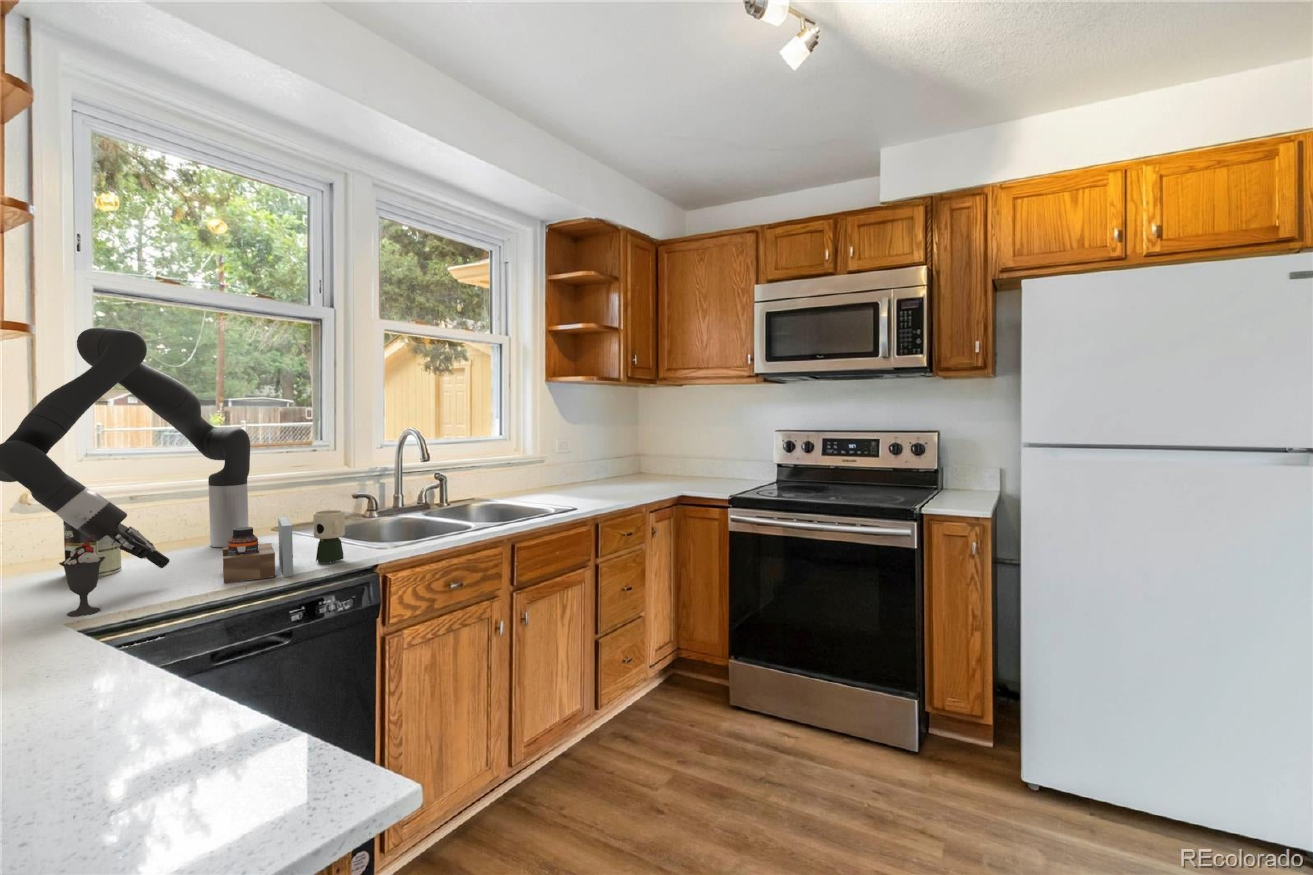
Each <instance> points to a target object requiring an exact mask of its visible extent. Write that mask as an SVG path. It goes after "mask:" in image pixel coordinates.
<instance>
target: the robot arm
mask: <svg viewBox="0 0 1313 875" xmlns="http://www.w3.org/2000/svg"><path fill="white" fill-rule="evenodd" d="M76 350H77V352H78V353H79V355H80V357H81V358H82V359H83V360H84V362H86V363H87V364H88V366H91V367H90V368H88V369H87V370H86V371H85V372H83V373H81V374H80V375H79V376H77V377H76V378H74V379H72V380H71V381H69V382H67V383H65V384H63V385H61V386H59V387H58V388H56V389H54V390H52V391H51V392H50V393H48V394H47V395H46V396H44V397H43V398H42V399H40V401H39V402H38V403H37V404H36V405H35V406H34V407H33V409H31V410H30V411H29V412H28V413H27V414H26V416H25V417H24V418H23V419H22V420H21V422H20V423H19V425H18V427H17V429H16V430H15V431H13V433H12V434H11V435H9V437H8V438H7V439H6V440H5V441H4V442H1V443H0V482H3V483H15V482H18V483H19V484H20V485H22V486H23V487H24V488H25V489H26V490H27V489H28V491H29V492H30V494H31V496H32V498H33V499H34V500H35V501H36V502H37V503H38V504H40V505H42V506H43V507H45V508H47V509H48V510H50V512H52V513H54V514H56V515H57V516H58V517H59V518H60V519H62V521H63V520H64V521H65V522H66V523H68V524H69V525H71V526H73V527H74V528H76V529H77V530H79V531H80V532H82V533H83V534H85V535H86V536H88V537H89V538H90V537H91V535H94V536H95V537H94V538H93V537H91V538H92V540H94V541H99V540H101V539H102V538H103V537H104V536H109V537H110V538H111V539H113V540H114V541H113V544H115V545H116V546H118V547H119V548H120V549H121V551H124V552H126V553H128V554H131V555H132V556H135V557H137V558H138V559H140V560H142V559H144V560H148V561H149V562H150V563H153V565H155V566H157V567H158V568H160V569H164V568H165V567H166V566H168V564H169V563H170V558H169V557H168V556H166V555H164V554H163V553H161V552H160V551H158V550H157V549H156V546H155V545H154V543H152V542H151V541H150V540H149V539H147V537H145V536H144V535H143V534H142V533H141V532H139V530H138V529H136V528H134V527H133V526H129V527H128V526H127V525H124V524H123V523H122V522H123V521H124V520H126V518H127V517H128V513H127V512H125V511H124V510H123V509H121V508H120V507H118V506H116V505H115V504H114V503H113V502H111V501H109V500H108V499H106V498H105V497H104V496H102V495H101V494H99V493H97V492H95V491H93V490H92V489H90V488H88V487H86V485H84V484H83V483H80V481H78V480H76V479H75V478H73V477H72V476H70V475H69V474H67V473H66V472H64V471H63V469H62V468H61V467H60V466H59V465H58V464H57V463H56V462H55V461H54V460H52V458H50V457H49V455H47V454H48V453H49V451H50V450H51V449H52V448H53V447H54V446H55V445H56V444H58V442H60V440H61V439H63V437H64V436H65V435H67V433H68V432H69V431H70V430H71V429H72V428H73V426H74V425H75V424H76V422H78V420H79V419H80V418H81V417H82V416H83V415H84V414H85V413H86V412H87V411H88V410H89V409H90V407H92V406H93V405H94V404H95V403H96V402H97V401H98V400H100V399H101V398H102V397H103V396H104V395H105V394H106V393H108V392H109V391H110V390H111V389H112V388H114V387H115V386H116V385H118V384H119V385H120V386H121V387H123V388H124V389H126V390H127V391H128V392H129V393H130V394H132V395H133V396H134V397H135V398H137V399H138V400H139V401H141V402H142V403H143V405H145V406H147V407H148V408H149V409H150V410H151V411H152V412H153V413H155V414H156V415H157V416H158V417H160V418H161V419H163V420H164V421H166V422H167V423H168V424H169V425H171V427H173V428H174V429H176V430H177V431H178V432H179V433H180V434H181V435H183V436H184V438H186V439H187V441H189V442H190V443H191V444H192V445H193V446H194V447H195V448H196V449H197V451H198V452H199V453H201V454H202V455H203V456H204V457H205V458H207V459H209V460H212V461H224V465H223V468H222V469H221V470H219V471H217V472H214V473H212V474H209V476H208V479H207V480H208V481H207V482H208V505H209V508H208V510H209V514H208V516H209V545H210V547H213V548H226V547H228V541H229V539H230V538H232V537H233V529H234V528H239V527H250V526H249V498H248V497H249V496H248V478H249V474H250V469H251V468H250V467H251V466H250V465H251V464H250V463H251V462H250V461H251V442H250V439H251V438H250V436H249V434H248V432H247V431H246V430H244V429H242V428H241V427H240V428H239V427H238V428H237V427H217V426H213V425H212V424H210V423H209V422H208V421H206V419H204V418H203V417H202V407H201V403H200V399H199V398H198V397H197V396H196V395H195V394H194V393H193V392H192V391H191V390H190V389H188V388H187V387H186V386H185V385H184V384H183V383H181V382H180V381H179V380H177V379H176V378H174V377H171V376H170V375H168V374H166V373H165V372H161V371H159V370H158V369H155V368H154V367H151V366H149V365H147V364H146V363H144V360H145V359H146V356H147V352H148V347H147V343H146V341H145V339H144V337H142V336H141V334H139V333H138V332H135V331H132V330H128V329H124V328H123V329H122V328H114V327H111V328H110V327H92V328H88V329H85V330H83V331H82V332H81V333H80V334H79V335H78V336H77V340H76Z"/></svg>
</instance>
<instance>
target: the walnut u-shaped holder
mask: <svg viewBox="0 0 1313 875" xmlns="http://www.w3.org/2000/svg"><path fill="white" fill-rule="evenodd" d="M274 549H275V548H273V545H272V542H268V543H258V553H252V554H243V555H233V556H228V547H222V570H223V571H222V573H223V576H222V577H223V584H229V583H235V582H243V581H253V580H261V579H266V578H267V579H268V578H274V577H275V578H276V554H275V553H276V552H275V550H274Z"/></svg>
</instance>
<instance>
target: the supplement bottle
mask: <svg viewBox="0 0 1313 875" xmlns="http://www.w3.org/2000/svg"><path fill="white" fill-rule="evenodd" d="M258 544H259V539H258V537H257V536H256V535H255V534H254V527H252V526H249V527H239V528H234V529H233V537H232V538H230V539H229V541H228V556H233V555H243V554H252V553H258Z"/></svg>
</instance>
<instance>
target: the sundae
mask: <svg viewBox="0 0 1313 875" xmlns="http://www.w3.org/2000/svg"><path fill="white" fill-rule="evenodd" d="M91 537H93V538H94V537H95V536H94V535H91ZM91 537H90V538H91ZM90 538H89V539H90ZM89 539H88V540H89ZM91 539H92V538H91ZM91 539H90V540H91ZM88 540H87V542H88ZM90 540H89V542H90ZM87 542H86V543H84V544H82V546H80V547H77V548H75V549H74V550H72V551H68V550H65V549H64V552H63V553H64V560H63V561H62V562H58V564H59V565H60V566H62V567H63V568H64V573H66V577H65V578H66V583H67V586H68V589H69V591H71V593H73V594H75V595H78V596H79V605H78V607H77V608H76V609H73V610H72V611H71V610H70V611H69V612H67V614H66V616H68V617H82V616H81V615H84V616H88V615H87V614H89V615H93V614H96V613H98V611H99V612H100V611H101V610H102V608H100V607H94V606H91V605H90V604H89V601H88V595H89V594H90V593H91V592H93V591H94V590H95V588H96V587H97V586H98V582H99V577H98V576H99V568H100V564H101V562H102V561H103V560H104V559H105V557H99V555H98V554H97V553H96V552H94V551H93V550H94V548H93V547H91V546H90V545H89V542H88V543H87Z"/></svg>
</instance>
